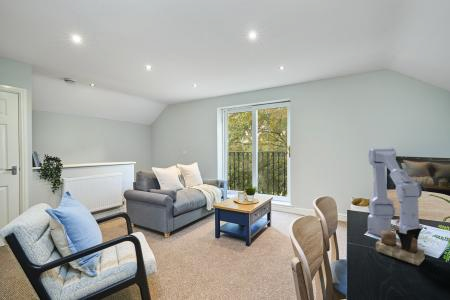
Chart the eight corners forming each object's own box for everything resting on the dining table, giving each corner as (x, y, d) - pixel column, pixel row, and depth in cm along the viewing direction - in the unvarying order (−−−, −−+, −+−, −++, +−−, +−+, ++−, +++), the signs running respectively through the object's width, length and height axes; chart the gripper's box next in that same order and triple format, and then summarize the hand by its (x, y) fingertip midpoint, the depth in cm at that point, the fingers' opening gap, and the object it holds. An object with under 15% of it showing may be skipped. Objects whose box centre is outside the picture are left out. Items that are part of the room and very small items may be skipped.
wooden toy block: (375, 250, 90) (375, 232, 90) (382, 245, 94) (382, 228, 94) (418, 265, 79) (418, 244, 78) (424, 258, 83) (424, 239, 83)
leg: (415, 261, 80) (414, 242, 80) (398, 256, 85) (398, 237, 85) (420, 257, 83) (419, 239, 83) (404, 252, 87) (403, 234, 87)
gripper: (416, 219, 76) (416, 256, 76) (427, 211, 84) (428, 244, 84) (392, 214, 82) (393, 248, 82) (405, 207, 90) (406, 238, 90)
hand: (409, 246), depth 83 cm, fingers open, 7 cm apart
